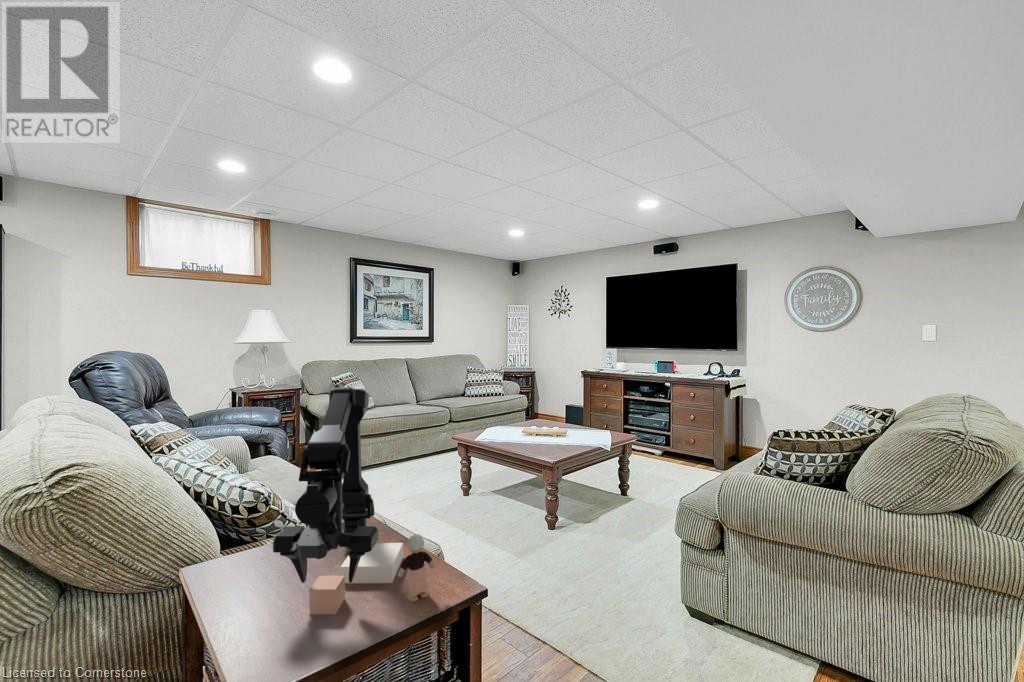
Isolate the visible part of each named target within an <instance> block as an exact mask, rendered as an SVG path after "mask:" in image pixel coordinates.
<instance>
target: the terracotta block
mask: <svg viewBox="0 0 1024 682" xmlns="http://www.w3.org/2000/svg"><path fill="white" fill-rule="evenodd" d="M345 584H346V583H345V576H341V575H319V576H318V577H317V579H316V580H315V581H314V583H313V584H312V585H311V587H310V588H309V589H308V592H309V594H308V595H309V596H308V597H309V598H308V599H309V600H308V601H309V604H308V605H309V611H308V612H309V615H310V614H336V613H338V612H339V610H340V609H341V607H342V605H343V604H344V602H345V600H346V596H345V595H346V589H345V586H346V585H345ZM343 601H344V602H343ZM341 604H342V605H341ZM340 606H341V607H340ZM339 608H340V609H339ZM338 609H339V610H338ZM337 611H338V612H337ZM336 615H337V614H336Z"/></svg>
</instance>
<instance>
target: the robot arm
mask: <svg viewBox="0 0 1024 682" xmlns="http://www.w3.org/2000/svg"><path fill="white" fill-rule="evenodd" d="M369 401H370V399H369V393H368V392H367V391H366V390H364V388H354V387H352V386H350V387H349V386H348V387H347V386H346V387H345V386H343V387H339V386H338V387H334V388H331V390H330V391H329V397H328V406H327V410H326V411H325V415H324V419H323V421H322V425H321V427H320V429H319V430H317V431H315V432H314V433H312V435H311V436H310V438H309V440H308V442H307V445H305V446H304V448H303V452H302V458H301V465H300V470H299V477H298V482H307V485H306V489H305V491H304V492H303V493H302V494H301V495H300V497H299V498H298V500H297V502H296V504H295V506H294V510H295V512H294V514H295V515H296V517H297V519H298V520H299V521H300V522H301V523H303V524H306V526H299V525H298V526H297V525H296V526H290V525H289V526H286V527H284V529H283V530H281V531H280V532H279V533H278V534H277V535H276V536H275V537H274V538H273V540H272V552H273V553H277V554H279V555H280V556H281V557H286V558H287V559H289V560H290V562H291V563H292V564H293V567H294V568H295V571H296V573H297V576H298V578H299V579H300V582H301V583H302V584H304V583H305V582H306V581H307V576H308V559H317V560H321V559H324V558H325V557H326V556H327V554H328V552H330V551H331V550H337V549H338V548H339V546H349V549H350V551H349V553H347V556H348V555H349V557H350V565H349V583H348V584H352V583H351V582H352V581H353V578H354V575H355V572H356V569H357V567H358V564H359V561H360V558H361V556H363V555H365V554H366V552H370V551H371V550H372V549H373V547H374V545H375V544H376V543H378V541H379V529H378V528H377V527H376V525H375V526H374V525H373V526H372V525H371V526H370V525H368V526H367V519H371V518H372V517H373V516H375V503H374V499H373V498H372V494H370V493H369V484H368V483H367V482H366V481H365V479H364V478H363V477H362V441H361V421H362V420H363V418H364V416H365V414H366V413H367V408H369ZM308 468H309V469H310V470H308Z"/></svg>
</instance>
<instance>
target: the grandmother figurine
mask: <svg viewBox="0 0 1024 682" xmlns="http://www.w3.org/2000/svg"><path fill="white" fill-rule="evenodd" d="M424 546H425V540H424V538H423V536H422V535H421V534H418V533H417V534H413V535H411V536H410V537H409V539H408V541H407V548H408V549H409V550H410V552H411V554H409V555H407V556H406V557H405V558H403V560H402V561H401V564H400V566H399V569H398V571H397V577H399V578H402V577H403V576H404V572H406V570H407V569H408V574H407V575H408V580H407V581H408V594H407V595H406V596H407V597H406V598H407V600H409V601H411V602H413V603H415V602H417V601H418V600H419V597H420V598H421V597H422V599H425V598H428V597H429V590H428V581H427V579H428V578H427V571H426V565H425V562H426V563H427V564H428V565H429V568H430V569H434V568H435V566H436V565H435V564H436V563H434V560H433V558H432V557H431V556H430V555H429V553H427V552H426V551H422V549H423V547H424ZM418 595H419V596H418ZM427 596H428V597H427ZM424 597H425V598H424ZM414 601H415V602H414Z"/></svg>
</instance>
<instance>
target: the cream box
mask: <svg viewBox="0 0 1024 682" xmlns="http://www.w3.org/2000/svg"><path fill="white" fill-rule="evenodd" d="M403 560H404V542H376V544H375V545H374V547H373V549H372V550H371V551H370V552H366V554H365V555H363V556H361V558H360V561H359V564H358V567H357V569H356V572H355V575H354V578H353V581H352V582H351V583H349V565H350V557H349V555H348V554H347V556H346V558H345V559H344V561H343V563H342V564H341V565H340V567H339V568H340V576H345V584H393V583H394V580H395V577H396V575H397V574H398V572H399V569H400V566H401V564H402V562H403Z"/></svg>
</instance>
